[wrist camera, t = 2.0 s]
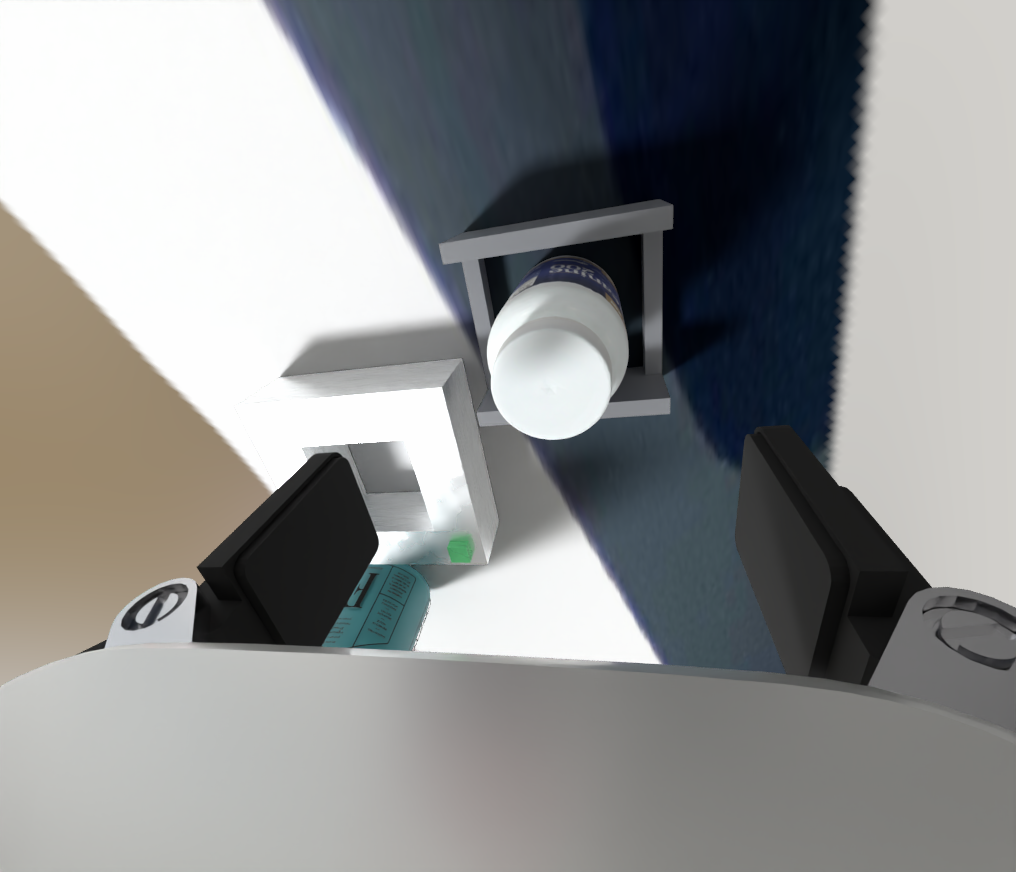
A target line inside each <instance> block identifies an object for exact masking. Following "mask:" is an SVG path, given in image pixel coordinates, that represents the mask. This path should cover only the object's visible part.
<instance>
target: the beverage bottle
mask: <svg viewBox="0 0 1016 872" xmlns="http://www.w3.org/2000/svg"><path fill="white" fill-rule="evenodd" d="M429 602H430V605H431V600H430V589H429V586H428V584H427V582H426V580H425V579H424V577H423V576H422V575H421V574H420V573H419V572H418V571H417V570H415V569H414V568H412V567H411V566H409V565H407V564H369V566H368V568H367V569H366V571H365V573H364V575H363V576H362V578H361V580H360V581H359V583H358V585H357V586H356V588H355V590H354V592H353V593H352V595H351V597H350V598H349V600H348V602H347V604H346V605H345V607H344V609H343V610H342V612H341V614H340V615H339V617H338V619H337V621H336V622H335V624H334V626H333V627H332V629H331V631H330V632H329V634H328V636H327V638H326V639H325V641H324V643H323V644H322V646H321V647H338V648H361V649H381V650H401V651H412V649H413V646H414V650H415V645H414V644H415V641H416V640H417V639H416V638H417V636H418V633H419V630H420V627H421V625H422V622H423V619H424V616H425V614H426V616H427V613H428V612H427V608H428V605H429ZM428 610H429V608H428ZM425 619H426V618H425ZM422 628H423V626H422V627H421V631H422ZM419 637H420V636H419ZM417 641H418V640H417ZM416 644H417V643H416Z"/></svg>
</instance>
